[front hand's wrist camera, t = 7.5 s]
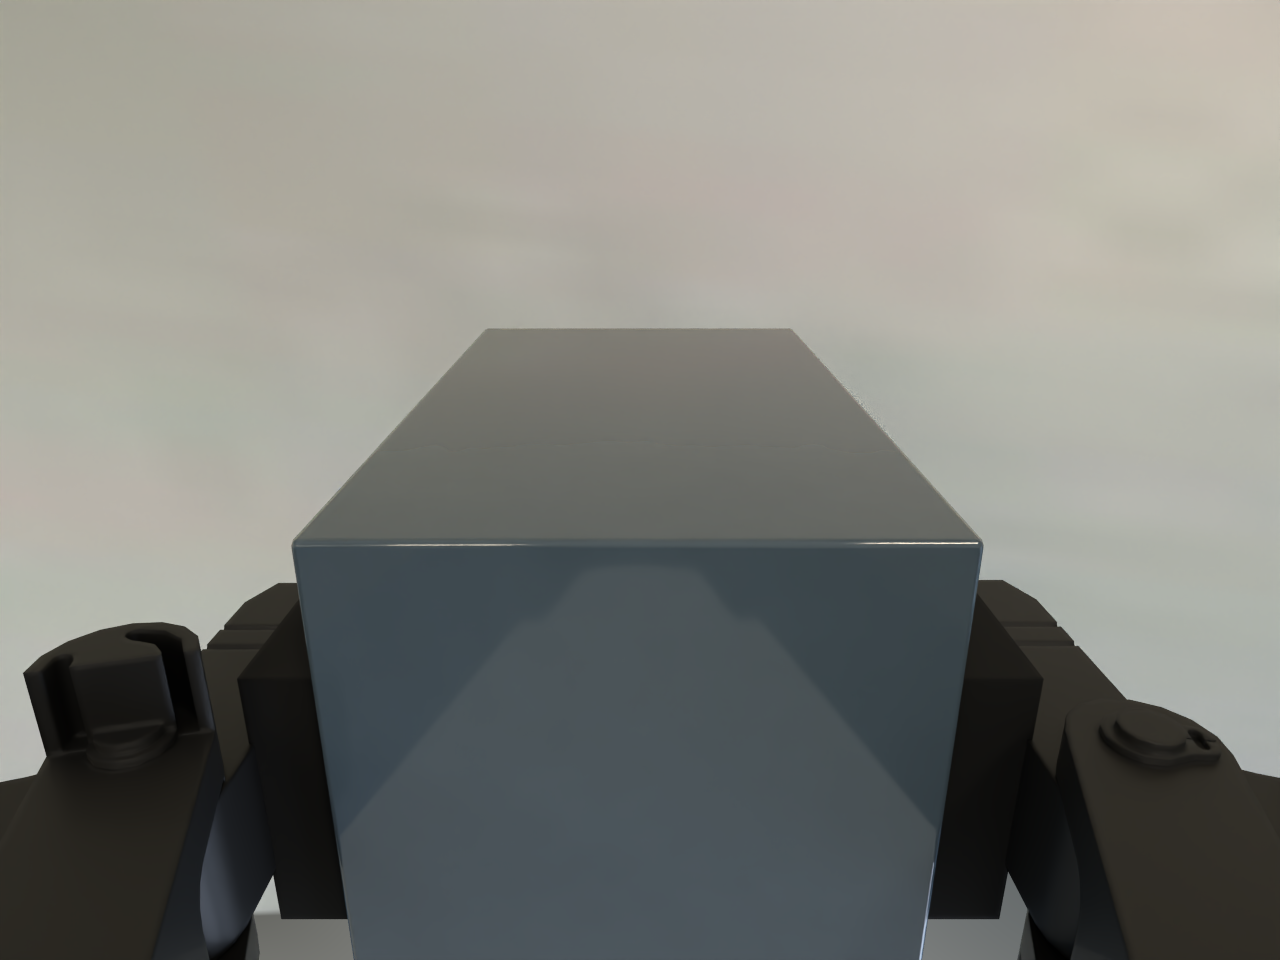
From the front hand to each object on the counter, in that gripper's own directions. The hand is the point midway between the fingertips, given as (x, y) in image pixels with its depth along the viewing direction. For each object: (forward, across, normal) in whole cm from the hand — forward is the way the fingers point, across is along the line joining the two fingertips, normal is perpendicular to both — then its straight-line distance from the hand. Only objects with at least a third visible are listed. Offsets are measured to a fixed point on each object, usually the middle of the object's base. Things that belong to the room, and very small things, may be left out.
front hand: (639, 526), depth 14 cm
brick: (+3, 0, 0) cm, 3 cm away
